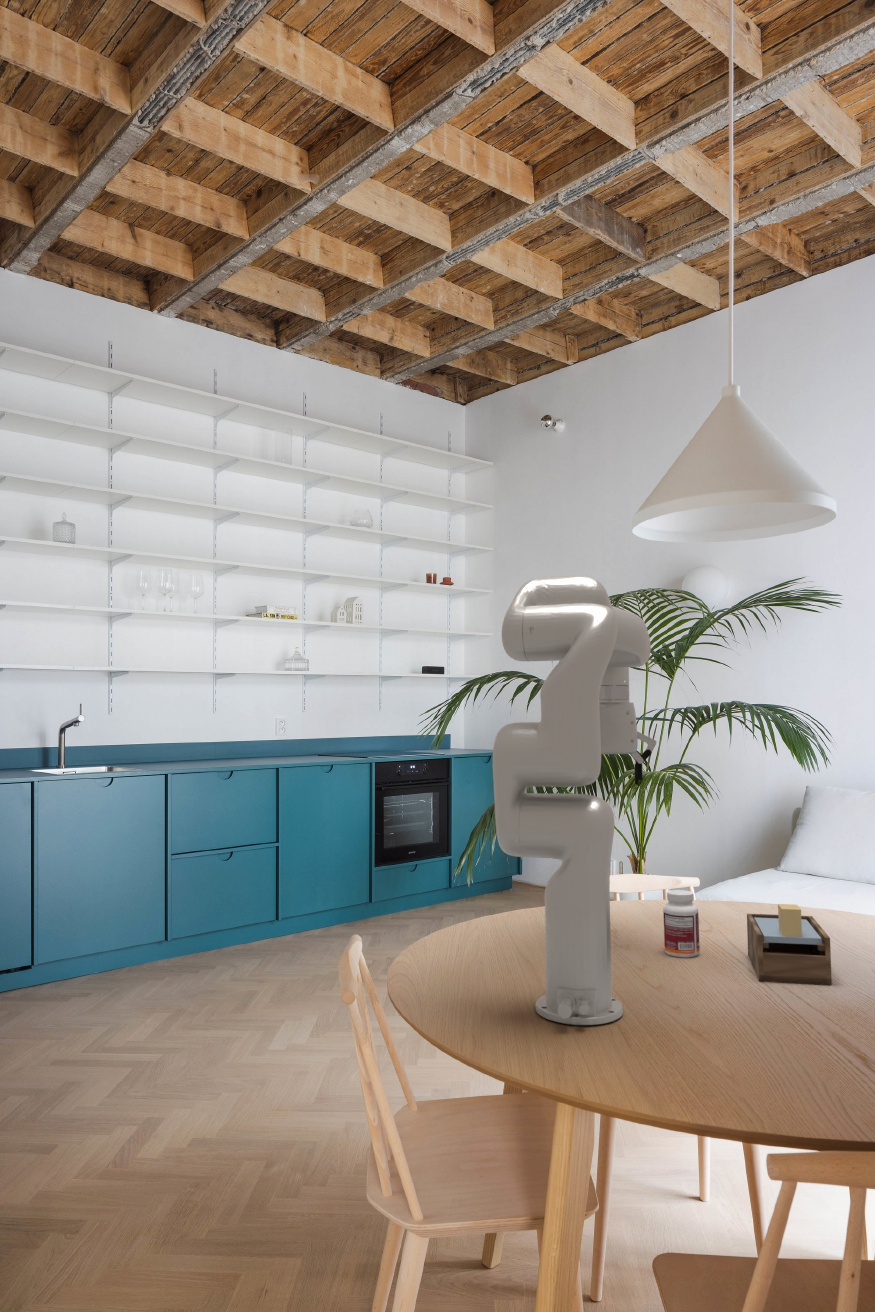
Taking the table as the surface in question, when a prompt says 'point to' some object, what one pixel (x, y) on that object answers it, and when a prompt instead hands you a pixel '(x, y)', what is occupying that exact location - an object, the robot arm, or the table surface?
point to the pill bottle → (681, 924)
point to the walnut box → (789, 956)
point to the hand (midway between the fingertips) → (611, 784)
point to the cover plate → (777, 938)
